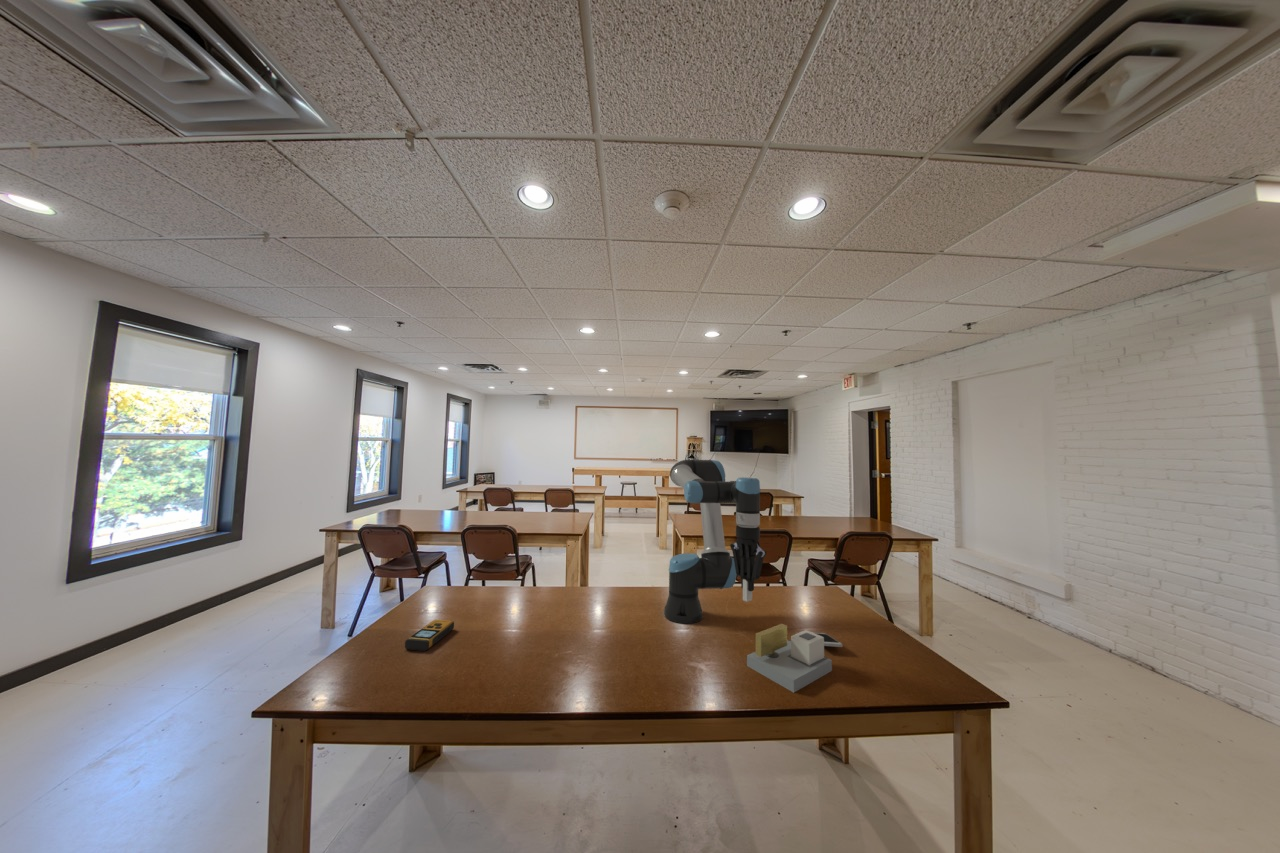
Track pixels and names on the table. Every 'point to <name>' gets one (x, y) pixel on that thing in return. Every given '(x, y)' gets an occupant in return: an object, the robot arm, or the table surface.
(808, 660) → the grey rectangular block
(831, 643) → the smartphone
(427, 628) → the electronic device
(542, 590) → the table surface
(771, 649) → the yellow rectangular block
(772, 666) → the housing
